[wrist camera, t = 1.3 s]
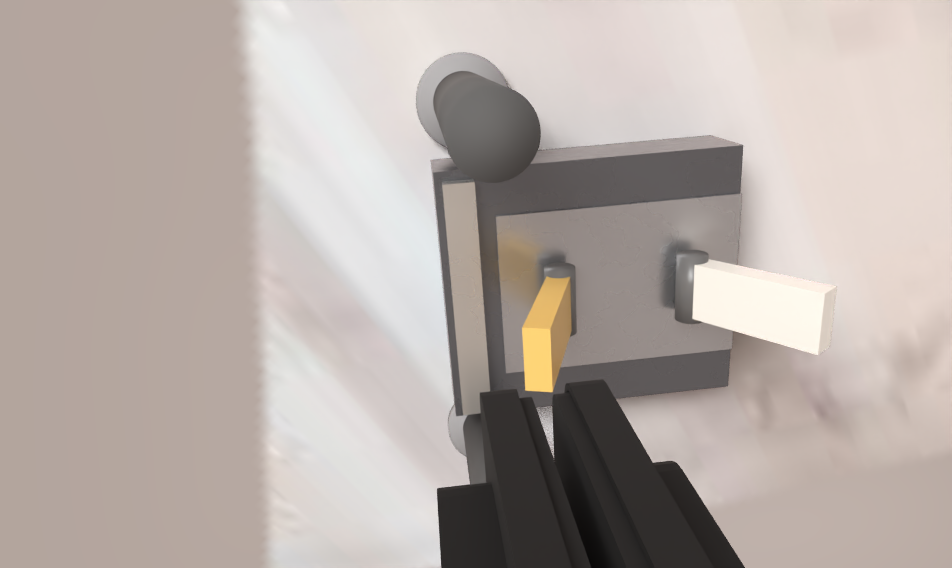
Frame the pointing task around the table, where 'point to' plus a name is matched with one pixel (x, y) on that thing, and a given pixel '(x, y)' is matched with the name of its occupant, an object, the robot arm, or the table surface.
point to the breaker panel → (588, 264)
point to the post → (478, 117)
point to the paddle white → (754, 302)
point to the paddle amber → (549, 327)
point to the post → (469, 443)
